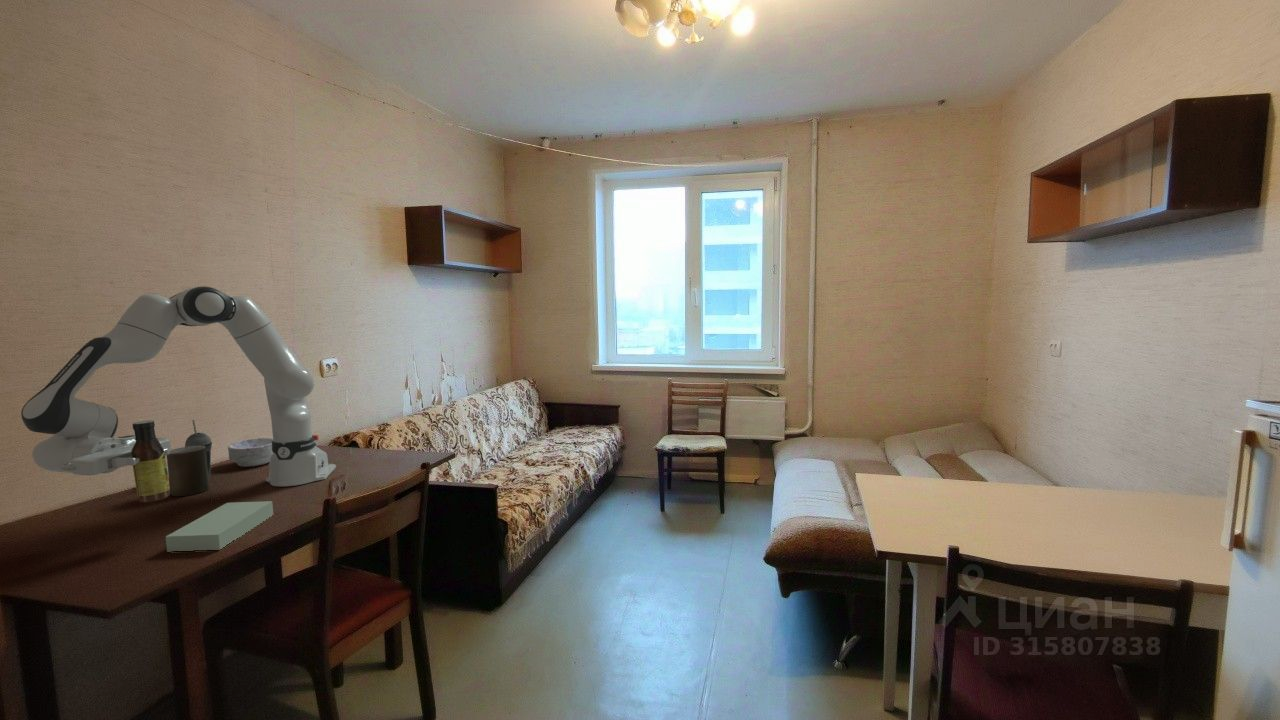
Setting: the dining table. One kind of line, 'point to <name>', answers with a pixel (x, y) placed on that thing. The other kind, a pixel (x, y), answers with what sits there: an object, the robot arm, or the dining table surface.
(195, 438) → the beverage cup
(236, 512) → the pale green rectangular block
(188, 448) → the pillar candle
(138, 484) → the sauce bottle
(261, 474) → the dining table surface
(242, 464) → the paper bowls
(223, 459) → the dining table surface
